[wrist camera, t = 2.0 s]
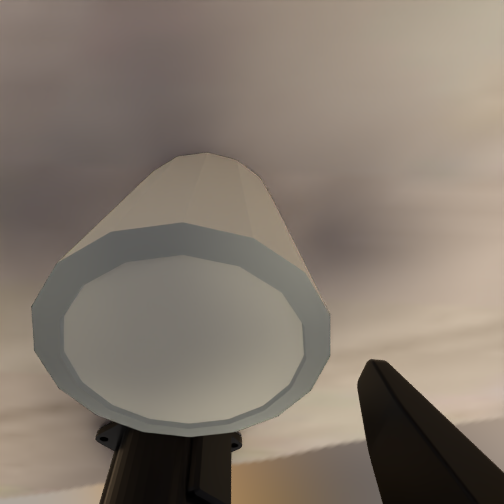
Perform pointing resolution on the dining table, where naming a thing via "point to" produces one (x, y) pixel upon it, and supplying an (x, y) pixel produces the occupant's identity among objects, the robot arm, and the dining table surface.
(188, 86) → the dining table surface
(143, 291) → the shot glass
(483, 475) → the robot arm
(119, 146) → the dining table surface
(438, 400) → the dining table surface
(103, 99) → the dining table surface
